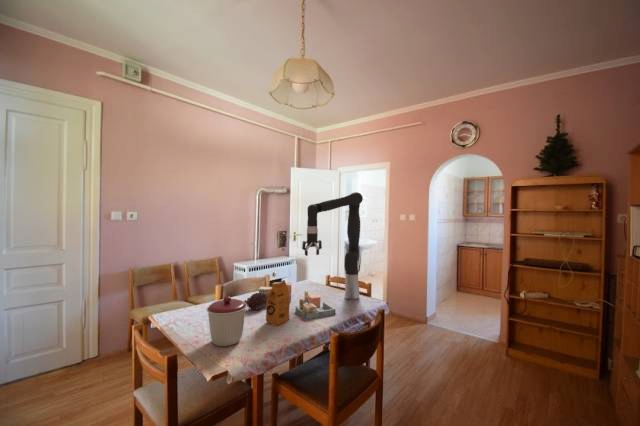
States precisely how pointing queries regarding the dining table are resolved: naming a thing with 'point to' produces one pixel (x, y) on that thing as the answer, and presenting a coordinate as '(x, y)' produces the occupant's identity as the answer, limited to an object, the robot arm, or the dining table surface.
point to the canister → (226, 321)
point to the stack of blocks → (268, 289)
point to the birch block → (307, 307)
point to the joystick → (312, 299)
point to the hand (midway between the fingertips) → (311, 255)
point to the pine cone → (256, 300)
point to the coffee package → (278, 304)
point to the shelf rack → (317, 314)
